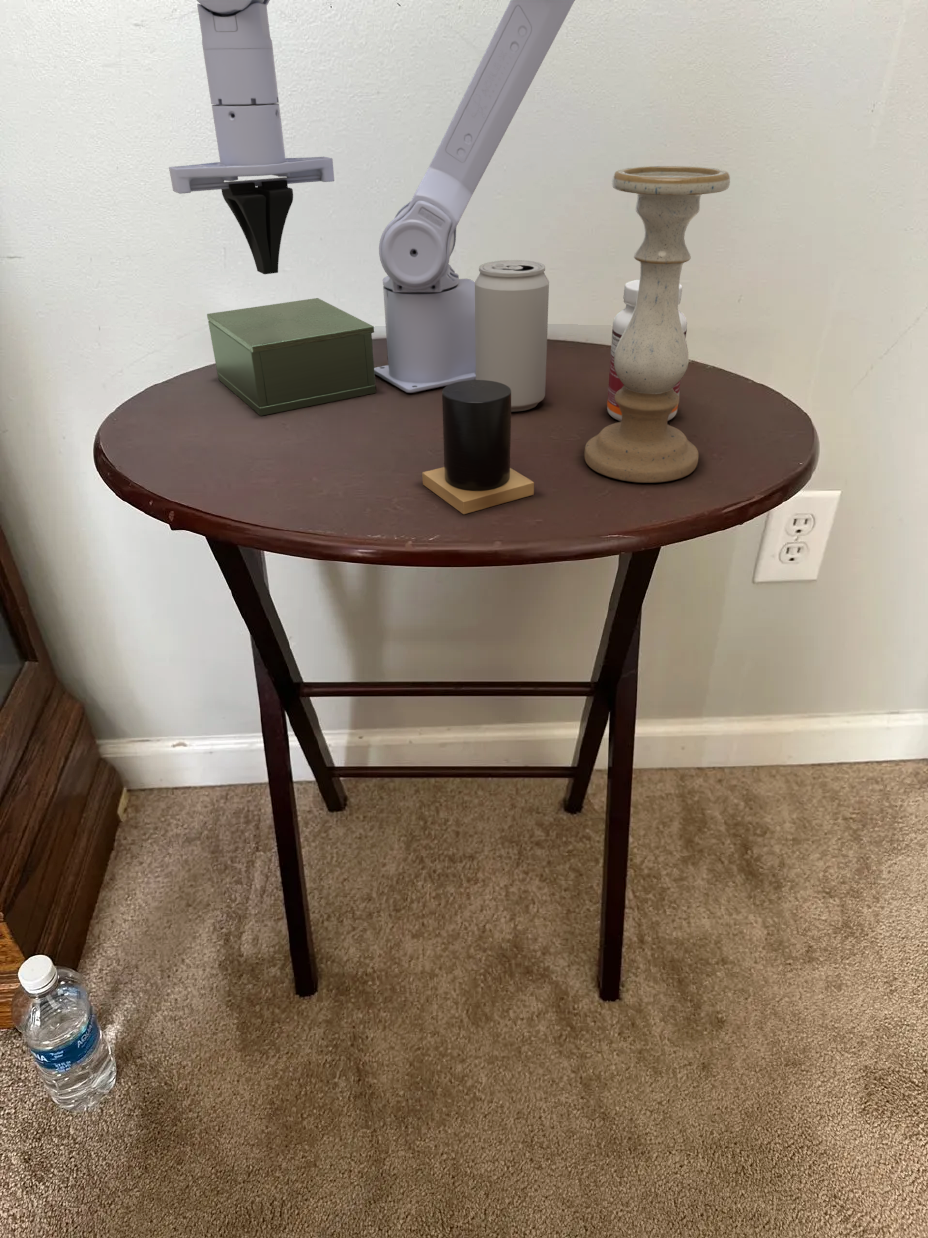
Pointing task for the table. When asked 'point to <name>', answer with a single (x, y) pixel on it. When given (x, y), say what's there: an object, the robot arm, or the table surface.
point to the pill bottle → (617, 331)
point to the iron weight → (476, 434)
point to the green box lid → (288, 324)
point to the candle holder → (654, 331)
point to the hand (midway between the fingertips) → (267, 271)
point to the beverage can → (512, 328)
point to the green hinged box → (295, 372)
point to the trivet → (477, 499)
